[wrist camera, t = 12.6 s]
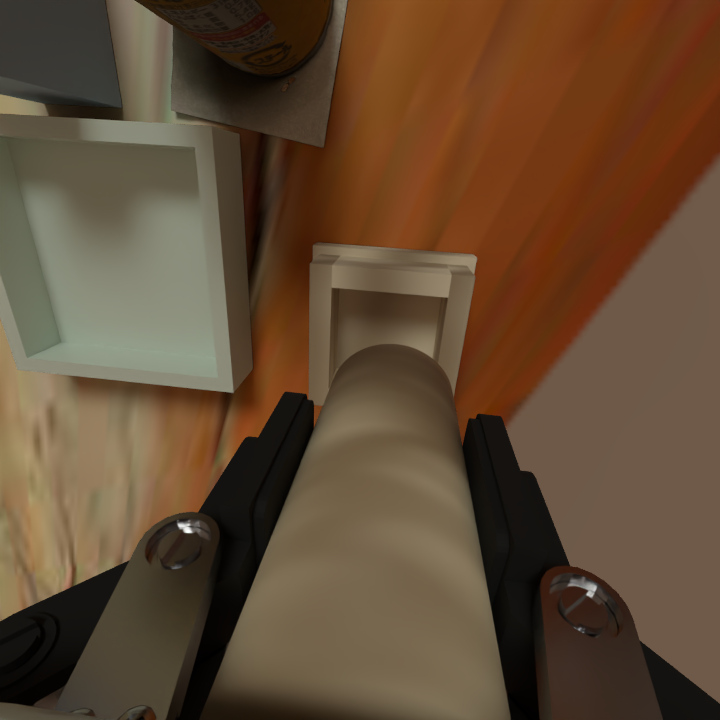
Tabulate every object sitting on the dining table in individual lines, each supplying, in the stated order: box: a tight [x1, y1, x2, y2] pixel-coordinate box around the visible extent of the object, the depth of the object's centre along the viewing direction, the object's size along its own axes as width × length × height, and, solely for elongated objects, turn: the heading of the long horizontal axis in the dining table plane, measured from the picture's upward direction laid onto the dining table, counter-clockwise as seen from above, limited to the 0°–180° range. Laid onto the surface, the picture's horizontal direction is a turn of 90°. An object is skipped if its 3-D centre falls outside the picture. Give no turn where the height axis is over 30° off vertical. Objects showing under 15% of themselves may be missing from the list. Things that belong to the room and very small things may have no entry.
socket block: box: [309, 242, 477, 406], centre depth 20 cm, size 8×8×4 cm
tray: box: [0, 114, 253, 393], centre depth 20 cm, size 12×12×3 cm
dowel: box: [199, 344, 511, 720], centre depth 9 cm, size 4×4×9 cm
